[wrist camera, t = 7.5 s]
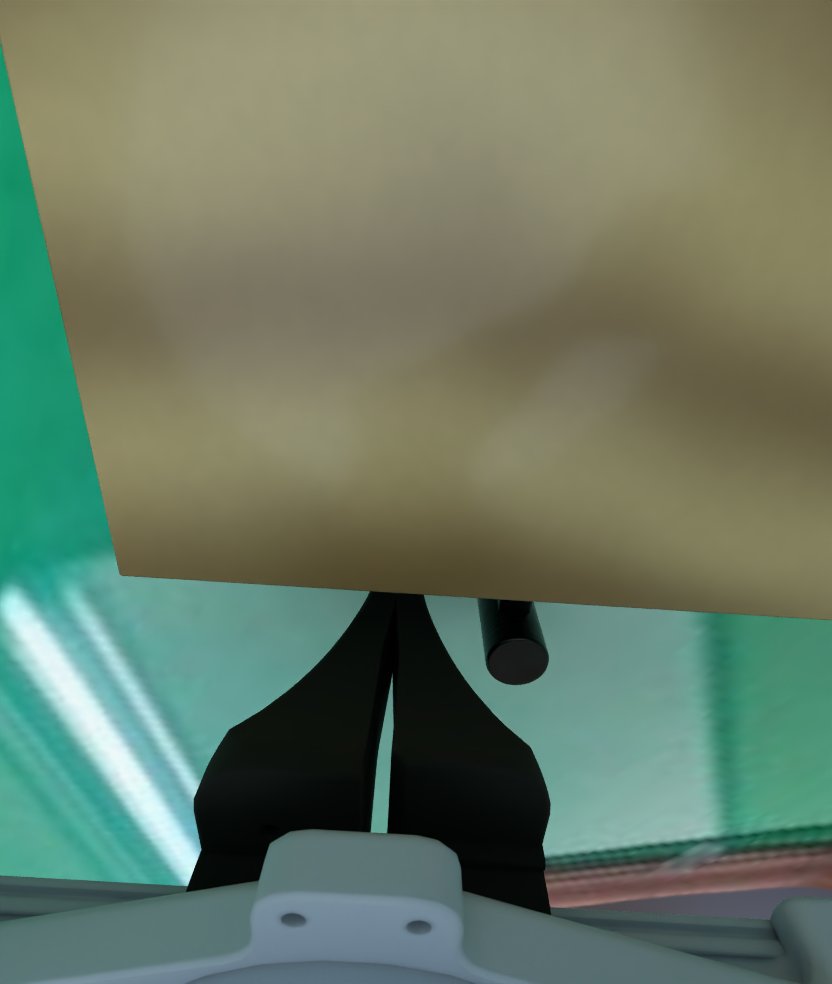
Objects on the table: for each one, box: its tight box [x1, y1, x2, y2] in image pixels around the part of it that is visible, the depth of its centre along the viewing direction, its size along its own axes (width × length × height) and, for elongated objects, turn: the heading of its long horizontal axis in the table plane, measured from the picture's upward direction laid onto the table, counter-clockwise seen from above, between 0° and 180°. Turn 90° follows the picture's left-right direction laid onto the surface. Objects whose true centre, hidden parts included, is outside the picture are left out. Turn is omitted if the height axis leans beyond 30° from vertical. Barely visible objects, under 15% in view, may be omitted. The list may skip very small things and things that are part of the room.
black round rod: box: [477, 598, 549, 685], centre depth 14 cm, size 4×8×4 cm, turn 87°
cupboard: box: [0, 0, 832, 620], centre depth 11 cm, size 10×16×6 cm, turn 87°
